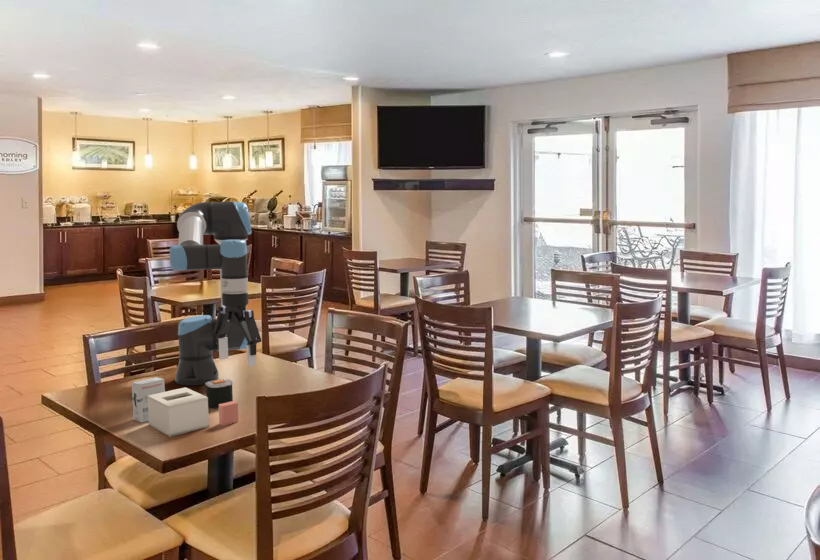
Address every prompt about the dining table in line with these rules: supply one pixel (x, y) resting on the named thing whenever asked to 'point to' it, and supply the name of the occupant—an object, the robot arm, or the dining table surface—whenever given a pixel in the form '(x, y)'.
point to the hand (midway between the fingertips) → (237, 362)
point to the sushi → (219, 392)
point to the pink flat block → (228, 413)
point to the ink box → (144, 396)
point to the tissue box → (178, 411)
